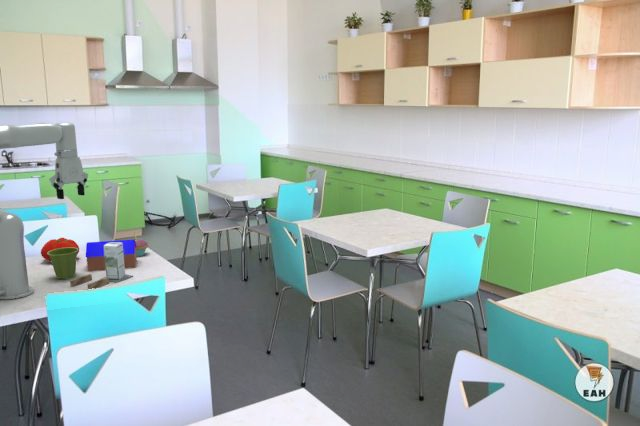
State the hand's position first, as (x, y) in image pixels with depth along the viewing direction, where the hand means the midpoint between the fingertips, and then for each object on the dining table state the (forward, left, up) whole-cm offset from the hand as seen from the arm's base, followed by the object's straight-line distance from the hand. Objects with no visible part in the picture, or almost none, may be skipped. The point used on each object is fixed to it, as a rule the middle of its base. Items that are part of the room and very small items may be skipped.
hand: (71, 197), depth 220 cm
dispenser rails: (-4, -11, -34) cm, 36 cm away
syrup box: (+7, -14, -34) cm, 37 cm away
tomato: (+15, +30, -34) cm, 48 cm away
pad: (+7, -14, -34) cm, 38 cm away
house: (+19, +1, -35) cm, 40 cm away
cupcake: (+38, +4, -34) cm, 51 cm away
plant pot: (-1, +7, -34) cm, 35 cm away
